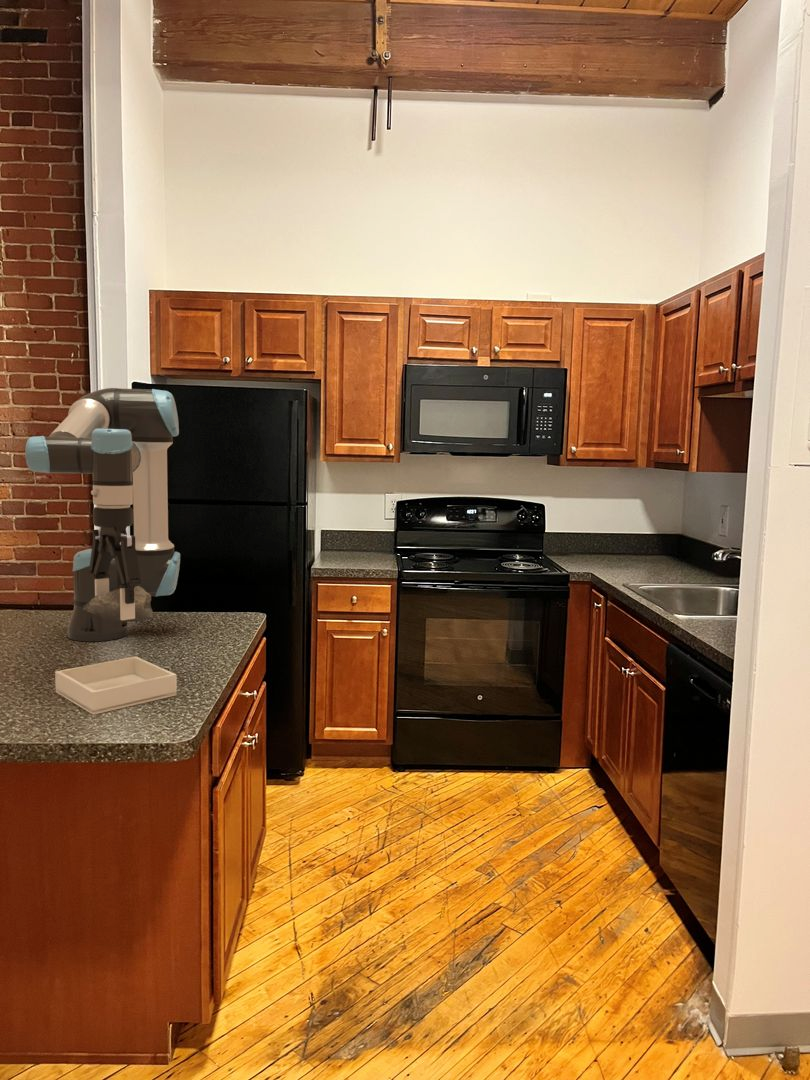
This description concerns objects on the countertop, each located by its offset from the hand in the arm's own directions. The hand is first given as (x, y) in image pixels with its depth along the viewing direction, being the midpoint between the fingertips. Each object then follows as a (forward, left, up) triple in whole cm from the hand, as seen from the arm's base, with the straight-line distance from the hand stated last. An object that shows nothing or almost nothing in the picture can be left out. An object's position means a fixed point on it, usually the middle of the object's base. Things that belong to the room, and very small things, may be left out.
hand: (114, 614), depth 158 cm
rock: (0, +1, -1) cm, 1 cm away
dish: (0, 0, -17) cm, 17 cm away
